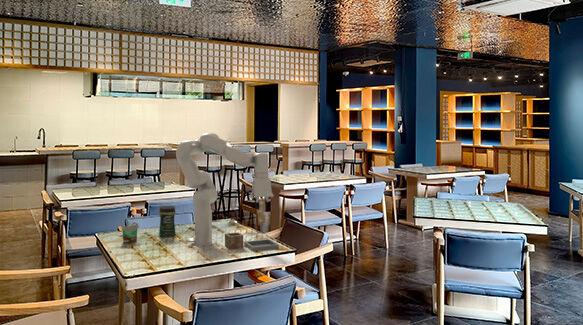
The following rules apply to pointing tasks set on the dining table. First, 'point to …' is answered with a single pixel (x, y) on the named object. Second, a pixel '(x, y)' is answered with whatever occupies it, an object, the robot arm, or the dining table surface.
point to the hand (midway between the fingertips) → (261, 208)
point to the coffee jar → (167, 221)
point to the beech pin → (261, 212)
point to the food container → (130, 233)
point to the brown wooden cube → (233, 240)
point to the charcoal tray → (261, 245)
